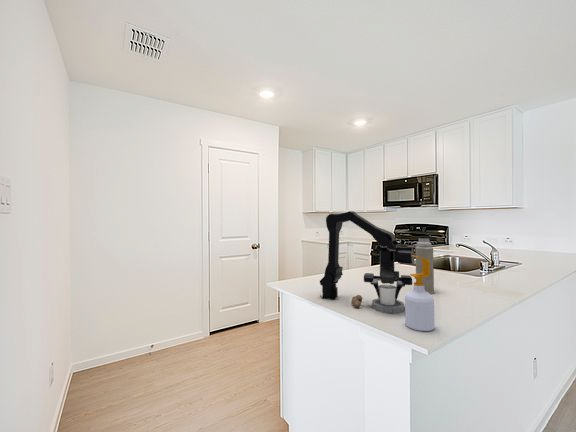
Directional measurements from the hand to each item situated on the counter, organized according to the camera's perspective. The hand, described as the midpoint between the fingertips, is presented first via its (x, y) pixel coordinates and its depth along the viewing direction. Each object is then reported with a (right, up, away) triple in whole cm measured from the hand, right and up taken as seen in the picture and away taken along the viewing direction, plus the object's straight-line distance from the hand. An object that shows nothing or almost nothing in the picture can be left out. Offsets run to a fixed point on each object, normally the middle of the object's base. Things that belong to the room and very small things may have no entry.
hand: (387, 299), depth 113 cm
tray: (0, -4, 0) cm, 4 cm away
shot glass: (0, -2, 0) cm, 2 cm away
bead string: (-12, -4, +5) cm, 13 cm away
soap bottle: (+4, -4, -19) cm, 20 cm away
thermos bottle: (+27, -3, +22) cm, 35 cm away
